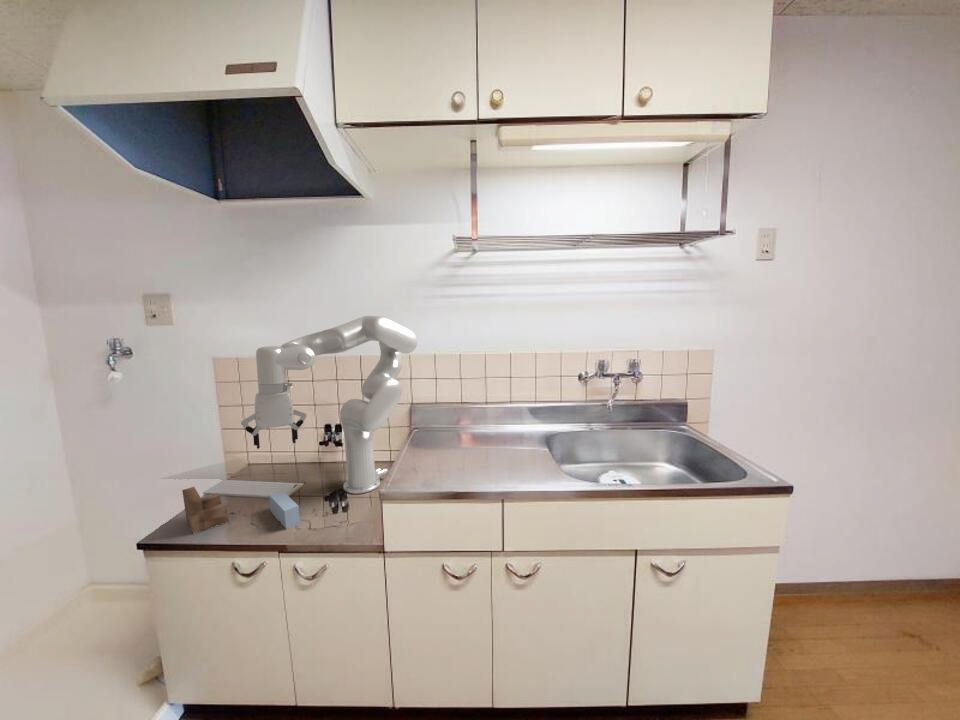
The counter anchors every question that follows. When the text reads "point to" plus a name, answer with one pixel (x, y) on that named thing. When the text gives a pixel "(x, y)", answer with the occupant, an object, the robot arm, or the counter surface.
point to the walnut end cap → (203, 510)
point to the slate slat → (284, 509)
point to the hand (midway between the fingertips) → (276, 444)
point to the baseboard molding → (251, 488)
